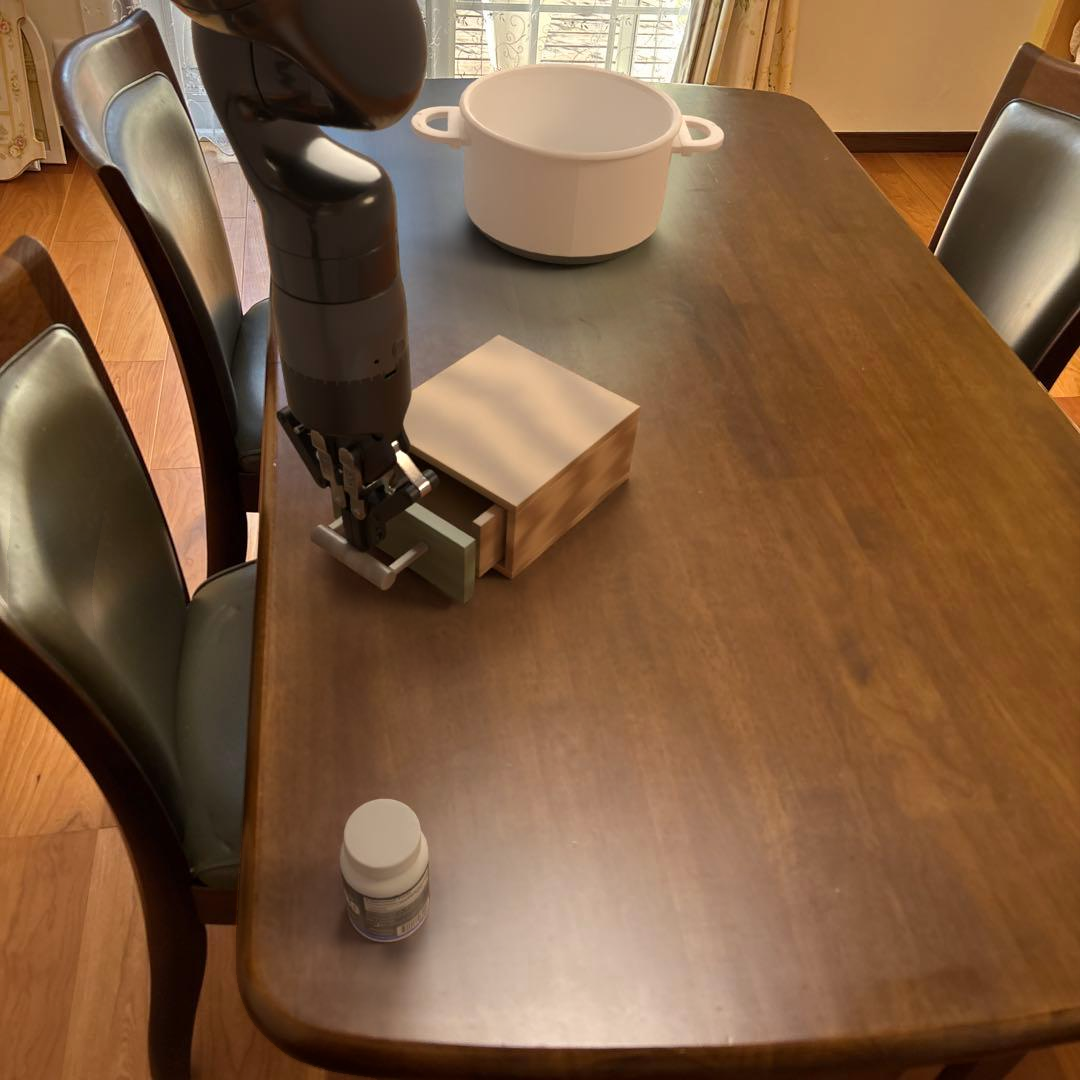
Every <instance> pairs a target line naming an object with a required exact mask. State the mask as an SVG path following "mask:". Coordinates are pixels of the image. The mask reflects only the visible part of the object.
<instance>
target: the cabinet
mask: <svg viewBox="0 0 1080 1080" xmlns="http://www.w3.org/2000/svg"><path fill="white" fill-rule="evenodd" d="M411 390H412V394H411V401H410V404H409V407H408V409H407V412H406V415H405V418H404V423H403V424H404V428H405V431H406V434H407V436H408V438H409V441H410V446H411V447H410V452H411V453H413V454H415V455H416V456H418V457H420V458H421V459H423V460H425V461H426V462H428V463H430V464H431V465H433V466H435V467H436V468H438V469H440V470H441V471H443V472H445V473H446V474H448V475H450V476H451V477H453V478H455V479H456V480H458V481H460V482H462V483H463V484H465V485H467V486H468V487H470V488H472V489H473V490H475V491H477V492H478V493H480V494H482V495H483V496H485V497H487V498H488V499H490V500H492V501H493V502H495V503H497V504H498V505H500V506H502V507H503V508H505V509H507V510H508V513H507V532H506V551H505V556H504V557H503V558H502V559H501V560H500V561H498V562H497V563H496V564H495V565H494V566H492V567H491V569H493V570H494V571H497V572H498V573H500V574H502V575H503V576H504V577H507V578H508V579H510V580H511V581H513V580H514V579H515V578H516V577H517V576H519V574H521V573H522V572H523V571H525V569H526V568H527V567H529V566H530V565H531V564H532V563H533V562H534V561H536V560H537V559H538V558H539V557H540V556H541V555H542V554H543V553H545V552H546V551H547V550H548V549H550V547H551V546H553V544H555V543H556V542H558V540H559V539H560V538H562V537H563V536H564V535H565V534H566V533H567V532H568V531H570V530H571V529H572V528H574V526H575V525H577V524H578V523H579V522H580V521H582V519H584V518H585V517H586V516H587V515H588V514H590V513H591V511H593V510H594V509H595V508H596V507H597V506H598V505H600V504H601V503H602V502H603V501H604V500H605V499H606V498H608V497H609V496H610V495H611V494H612V493H614V492H615V491H616V490H617V489H618V488H619V487H621V486H622V484H624V483H625V482H626V481H627V480H628V479H629V478H630V473H631V467H632V466H631V465H632V460H633V459H632V458H633V453H634V448H635V447H634V446H635V442H636V434H637V429H638V423H639V416H640V411H641V405H638V404H636V403H635V402H633V401H630V400H628V399H627V398H625V397H623V396H620V395H619V394H617V393H615V392H614V391H611V390H609V389H607V388H605V387H603V386H601V385H599V384H597V383H595V382H593V381H591V380H589V379H588V378H586V377H583V376H581V375H579V374H578V373H576V372H574V371H572V370H570V369H568V368H566V367H564V366H562V365H560V364H559V363H556V362H554V361H552V360H551V359H548V358H546V357H545V356H542V355H540V354H538V353H536V352H534V351H533V350H531V349H528V348H526V347H525V346H522V345H521V344H519V343H517V342H515V341H513V340H511V339H509V338H507V337H505V336H503V335H501V334H498V335H496V336H494V337H492V338H491V339H489V340H487V341H486V342H485V343H483V344H482V345H480V346H479V347H477V348H476V349H474V350H472V351H471V352H469V353H468V354H466V355H464V356H463V357H462V358H460V359H459V360H457V361H455V362H454V363H452V364H450V365H449V366H448V367H446V368H444V369H443V370H441V371H440V372H438V373H437V374H435V375H434V376H432V377H431V378H429V379H428V380H426V381H424V382H422V384H420V385H418V386H416V387H415V388H414V389H411Z"/></svg>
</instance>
